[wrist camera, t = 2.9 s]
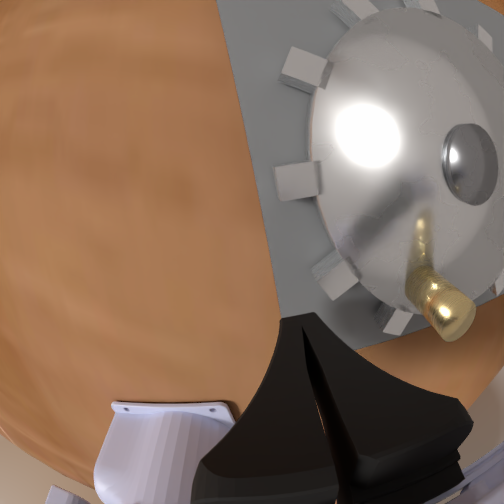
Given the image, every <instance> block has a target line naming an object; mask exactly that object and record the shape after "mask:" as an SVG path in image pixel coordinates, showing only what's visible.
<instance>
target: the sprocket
mask: <svg viewBox="0 0 504 504" xmlns="http://www.w3.org/2000/svg"><path fill="white" fill-rule="evenodd" d="M403 2H404V4H405V6H406V7H399V8H391V9H385V10H382V11H379V10H378V9H377V8H376V7H375V6H374V5H373V4H372V3H371V2H370V1H369V0H335V2H334V3H333V5H332V7H331V8H330V10H331V11H332V12H333V13H334V14H335V15H336V16H337V17H338V18H339V19H340V20H341V21H342V22H343V23H344V24H345V25H346V26H347V27H348V28H349V29H350V30H349V31H347V32H346V33H345V34H344V35H343V36H342V38H341V39H340V40H339V41H338V42H337V43H336V44H335V46H334V47H333V48H332V50H331V51H330V53H329V54H328V56H327V57H326V58H325V59H324V58H322V57H319V56H317V55H314V54H312V53H309V52H306V51H304V50H301V49H298V48H295V47H293V46H292V47H291V49H290V52H289V54H288V57H287V59H286V62H285V64H284V67H283V69H282V72H281V74H280V77H279V80H278V82H280V83H283V84H286V85H289V86H292V87H294V88H297V89H300V90H302V91H305V92H307V93H310V94H311V95H310V99H309V102H308V110H307V117H306V124H305V155H306V160H305V161H299V162H292V163H286V164H280V165H274V166H272V170H273V175H274V180H275V186H276V191H277V196H278V198H279V200H280V201H281V202H282V201H288V200H294V199H300V198H305V197H311V196H312V197H313V201H314V204H315V207H316V209H317V212H318V215H319V218H320V221H321V224H322V226H323V228H324V230H325V232H326V234H327V236H328V238H329V240H330V242H331V244H332V245H333V247H334V248H335V250H334V251H332V252H331V253H330V254H329V255H327V256H326V257H325V258H324V259H322V260H321V261H320V262H319V263H317V264H316V265H315V266H314V267H312V268H311V271H312V273H313V275H314V277H315V279H316V281H317V283H318V284H319V285H320V286H321V287H322V289H323V290H324V291H325V292H326V293H327V294H328V296H329V297H330V298H331V299H332V300H333V301H334V300H335V299H336V298H338V297H339V296H340V295H342V294H343V293H344V292H345V291H347V290H348V289H349V288H351V287H352V286H353V285H354V284H356V283H357V282H358V281H360V283H361V284H362V285H363V286H364V287H365V288H366V289H367V290H368V291H370V292H371V293H372V294H373V295H374V296H375V297H377V298H378V299H380V300H381V301H383V303H382V304H381V306H380V308H379V310H378V311H377V313H376V315H375V316H374V320H375V321H376V323H377V324H378V326H379V328H380V329H381V331H382V332H385V333H389V334H394V335H399V336H400V334H401V333H402V331H403V330H404V328H405V327H406V325H407V323H408V322H409V320H410V319H411V317H412V315H413V314H422V315H423V316H424V317H425V319H426V320H427V321H428V322H429V323H430V324H431V325H432V327H433V328H434V329H435V330H436V331H437V332H438V334H439V335H440V336H441V337H442V338H443V340H444V341H446V342H452V341H455V340H457V339H458V338H460V337H461V336H462V335H463V334H464V333H465V332H466V331H467V330H468V329H469V327H470V326H471V324H472V322H473V320H474V318H475V314H476V305H475V303H474V302H473V300H474V299H476V298H477V297H479V296H480V295H481V294H483V293H484V292H485V291H486V290H487V289H489V290H490V291H491V292H493V293H494V294H495V295H496V296H498V294H499V293H500V292H501V291H502V290H503V288H504V67H503V66H502V64H501V63H500V62H499V60H498V59H497V58H496V56H495V55H494V54H493V53H492V37H491V36H490V35H489V34H488V33H487V32H486V31H485V30H484V29H483V28H482V27H481V26H480V25H479V24H476V25H473V26H471V27H468V28H464V27H463V26H461V25H460V24H458V23H456V22H455V21H453V20H451V19H449V18H447V17H445V16H442V15H441V14H440V12H439V10H438V8H437V5H436V3H435V1H434V0H403Z"/></svg>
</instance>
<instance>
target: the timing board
mask: <svg viewBox="0 0 504 504" xmlns="http://www.w3.org/2000/svg"><path fill="white" fill-rule="evenodd" d="M369 1H370V2H371V3H372V4H373V5H374V6H375V7H376V8H377V9H378V10H379V11H382V10H385V9H391V8H399V7H406V6H405V4H404V2H403V0H369ZM434 1H435V3H436V5H437V8H438V10H439V12H440V14H441V15H442V16H445V17H447V18H449V19H451V20H453V21H455V22H456V23H458V24H460V25H461V26H463V27H464V28H468V27H471V26H473V25H476V24H479V25H480V26H481V27H482V28H483V29H484V30H485V31H486V32H487V33H488V34H489V35H490V36H491V37H492V53H493V54H494V55H495V56H496V58H497V59H498V60H499V62H500V63H501V64H502V66H503V67H504V16H503V15H502V14H500V13H499V12H497V11H495V10H494V9H492V8H490V7H488V6H487V5H485V4H483V3H481V2H479V1H477V0H434ZM216 2H217V6H218V10H219V15H220V19H221V23H222V27H223V31H224V36H225V40H226V44H227V49H228V53H229V57H230V62H231V66H232V71H233V75H234V80H235V84H236V89H237V93H238V98H239V103H240V107H241V112H242V117H243V121H244V126H245V131H246V135H247V140H248V145H249V150H250V155H251V160H252V165H253V169H254V174H255V179H256V184H257V189H258V194H259V200H260V205H261V210H262V215H263V220H264V225H265V231H266V236H267V241H268V246H269V252H270V257H271V262H272V268H273V273H274V279H275V284H276V290H277V295H278V301H279V307H280V312H281V318H285V317H290V316H296V315H301V314H306V313H311V312H315V313H316V314H317V315H318V316H319V317H320V318H321V320H322V321H323V322H324V323H325V324H326V325H327V326H328V327H329V328H330V329H331V330H332V331H333V332H334V333H335V334H336V335H337V336H338V337H339V338H340V339H341V340H342V341H343V342H344V343H346V344H347V345H348V346H349V347H350V348H352V349H353V350H357V349H361V348H364V347H368V346H371V345H375V344H378V343H382V342H385V341H388V340H391V339H395V338H398V337H401V336H404V335H407V334H410V333H413V332H415V331H418V330H421V329H424V328H427V327H429V326H432V325H431V324H430V323H429V322H428V321H427V320H426V319H425V317H424V316H423V315H422V314H413V315H412V317H411V319H410V320H409V322H408V323H407V325H406V327H405V328H404V330H403V331H402V333H401V334H400V336H399V335H394V334H389V333H385V332H382V331H381V329H380V328H379V326H378V324H377V323H376V321H375V320H374V316H375V315H376V313H377V311H378V310H379V308H380V306H381V304H382V303H383V301H381V300H380V299H378V298H377V297H375V296H374V295H373V294H372V293H371V292H370V291H368V290H367V289H366V288H365V287H364V286H363V285H362V284H361V283H360V281H358V282H357V283H356V284H354V285H353V286H352V287H351V288H349V289H348V290H347V291H345V292H344V293H343V294H342V295H340V296H339V297H338V298H336V299H335V300H334V301H333V300H332V299H331V298H330V297H329V296H328V294H327V293H326V292H325V291H324V290H323V289H322V287H321V286H320V285H319V284H318V283H317V281H316V279H315V277H314V275H313V273H312V271H311V268H312V267H314V266H315V265H316V264H317V263H319V262H320V261H321V260H322V259H324V258H325V257H326V256H327V255H329V254H330V253H331V252H332V251H334V250H335V248H334V247H333V245H332V244H331V242H330V240H329V238H328V236H327V234H326V232H325V230H324V228H323V226H322V224H321V221H320V218H319V215H318V212H317V209H316V207H315V204H314V201H313V197H312V196H311V197H305V198H300V199H294V200H288V201H282V202H281V201H280V200H279V198H278V196H277V191H276V186H275V180H274V175H273V170H272V166H274V165H280V164H286V163H292V162H299V161H305V160H306V155H305V124H306V117H307V110H308V102H309V99H310V95H311V94H310V93H307V92H305V91H302V90H300V89H297V88H294V87H292V86H289V85H286V84H283V83H280V82H278V80H279V77H280V74H281V72H282V69H283V67H284V64H285V62H286V59H287V57H288V54H289V52H290V49H291V47H292V46H293V47H295V48H298V49H301V50H304V51H306V52H309V53H312V54H314V55H317V56H319V57H322V58H324V59H325V58H326V57H327V56H328V54H329V53H330V51H331V50H332V48H333V47H334V46H335V44H336V43H337V42H338V41H339V40H340V39H341V38H342V36H343V35H344V34H345V33H346V32H347V31H349V30H350V29H349V28H348V27H347V26H346V25H345V24H344V23H343V22H342V21H341V20H340V19H339V18H338V17H337V16H336V15H335V14H334V13H333V12H332V11H331V10H330V8H331V7H332V5H333V3H334V2H335V0H216ZM502 294H504V288H503V290H502V291H501V292H500V293H499V294H498V296H500V295H502ZM498 296H496V295H495V294H494V293H493V292H491V291H490V290H489V289H487V290H486V291H485V292H484V293H483V294H481V295H480V296H479V297H477V298H476V299H474V300H473V302H474V303H475V305H476V307H477V306H480V305H482V304H484V303H486V302H488V301H490V300H492V299H494V298H496V297H498Z"/></svg>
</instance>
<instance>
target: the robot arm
mask: <svg viewBox="0 0 504 504" xmlns="http://www.w3.org/2000/svg"><path fill="white" fill-rule="evenodd" d="M315 400H316V401H315ZM316 403H317V405H316ZM317 406H318V408H317ZM111 407H112V409H113V410H114V411H115V412H116V413H115V415H114V418H113V420H112V423H111V425H110V428H109V430H108V433H107V435H106V438H105V440H104V443H103V445H102V448H101V451H100V453H99V456H98V459H97V462H96V464H95V468H94V485H95V489H96V492H97V494H98V496H99V498H100V499H101V500H102V501H103V502H104V504H335V501H336V499H337V504H436V503H438V502H440V501H442V500H444V499H446V498H447V497H449V496H451V495H453V494H454V493H456V492H458V491H459V490H461V489H462V491H461V493H460V495H459V496H457V497H456V498H454V499H452V500H451V501H449V502H447V503H446V504H504V441H503V442H502V443H500V444H499V445H498V446H496V447H495V448H494V449H492V450H491V451H490V452H488V453H487V454H485V455H484V456H483V457H481V458H480V459H478V460H477V461H475V462H474V463H472V464H471V465H469V466H468V467H466V468H464V469H463V470H461V468H460V466H459V464H458V462H457V461H458V460H459V459H460V454H459V452H458V450H457V449H458V447H459V446H460V445H461V443H462V442H463V441H464V440H465V439H466V437H467V436H468V435H469V433H470V432H471V430H472V427H473V423H474V422H473V421H472V419H471V417H470V416H469V414H468V412H467V410H466V409H465V407H464V406H463V405H462V404H461V403H460V401H459V400H458V399H457V398H453V397H449V396H445V395H441V394H437V393H434V392H430V391H427V390H424V389H422V388H419V387H416V386H414V385H411V384H409V383H407V382H405V381H402V380H400V379H398V378H396V377H394V376H392V375H390V374H388V373H387V372H385V371H383V370H381V369H380V368H378V367H376V366H375V365H373V364H372V363H370V362H369V361H367V360H366V359H364V358H363V357H362V356H360V355H359V354H358V353H357V352H355V351H354V350H353V349H352V348H350V347H349V346H348V345H347V344H346V343H344V342H343V341H342V340H341V339H340V338H339V337H338V336H337V335H336V334H335V333H334V332H333V331H332V330H331V329H330V328H329V327H328V326H327V325H326V324H325V323H324V322H323V321H322V320H321V318H320V317H319V316H318V315H317V314H316V313H315V312H311V313H306V314H301V315H296V316H290V317H285V318H282V319H281V320H280V328H279V335H278V339H277V343H276V347H275V350H274V353H273V356H272V359H271V362H270V364H269V367H268V369H267V372H266V374H265V376H264V378H263V381H262V383H261V385H260V386H259V388H258V390H257V392H256V394H255V395H254V397H253V399H252V400H251V402H250V403H249V405H248V407H247V408H246V410H245V411H244V412H243V414H242V415H241V417H240V418H239V419H238V420H237V422H235V420H234V418H233V416H232V414H231V411H230V409H229V407H228V405H227V404H225V403H223V402H210V403H186V404H152V403H129V402H112V404H111ZM318 409H319V412H320V415H321V419H322V422H323V426H324V429H323V426H322V422H321V419H320V415H319V412H318ZM324 430H325V433H324ZM325 435H326V436H325ZM45 504H90V503H89V502H88V501H86V500H84V499H83V498H81V497H79V496H77V495H75V494H73V493H71V492H68V491H66V490H64V489H62V488H60V487H58V486H56V485H52V486H51V489H50V491H49V494H48V497H47V500H46V502H45Z"/></svg>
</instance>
